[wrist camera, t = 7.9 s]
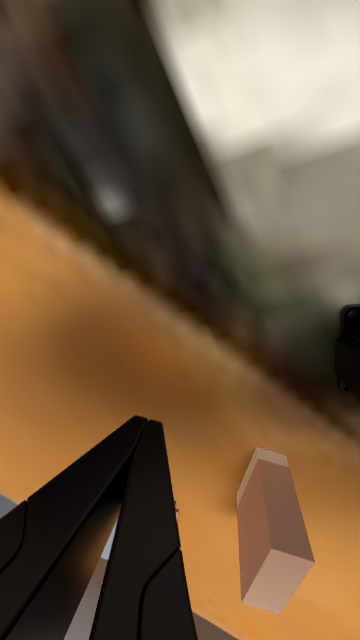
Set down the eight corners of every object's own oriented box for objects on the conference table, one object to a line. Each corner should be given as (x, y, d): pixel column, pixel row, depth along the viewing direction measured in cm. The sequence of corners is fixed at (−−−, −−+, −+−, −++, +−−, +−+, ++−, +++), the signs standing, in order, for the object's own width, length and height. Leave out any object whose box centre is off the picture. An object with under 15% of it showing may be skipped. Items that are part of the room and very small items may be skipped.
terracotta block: (285, 455, 22) (314, 562, 15) (263, 502, 24) (279, 615, 17) (256, 446, 22) (271, 548, 15) (236, 494, 24) (241, 602, 17)
